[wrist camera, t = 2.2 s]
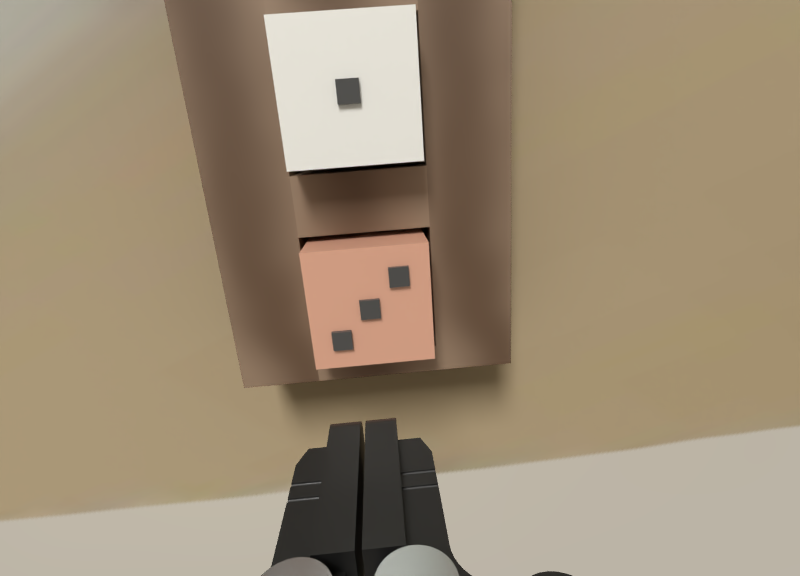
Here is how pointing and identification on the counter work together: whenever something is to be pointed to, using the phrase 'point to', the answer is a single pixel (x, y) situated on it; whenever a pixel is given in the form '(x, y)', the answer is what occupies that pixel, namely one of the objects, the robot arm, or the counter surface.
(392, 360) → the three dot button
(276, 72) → the one dot button
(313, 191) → the console
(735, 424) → the counter surface
